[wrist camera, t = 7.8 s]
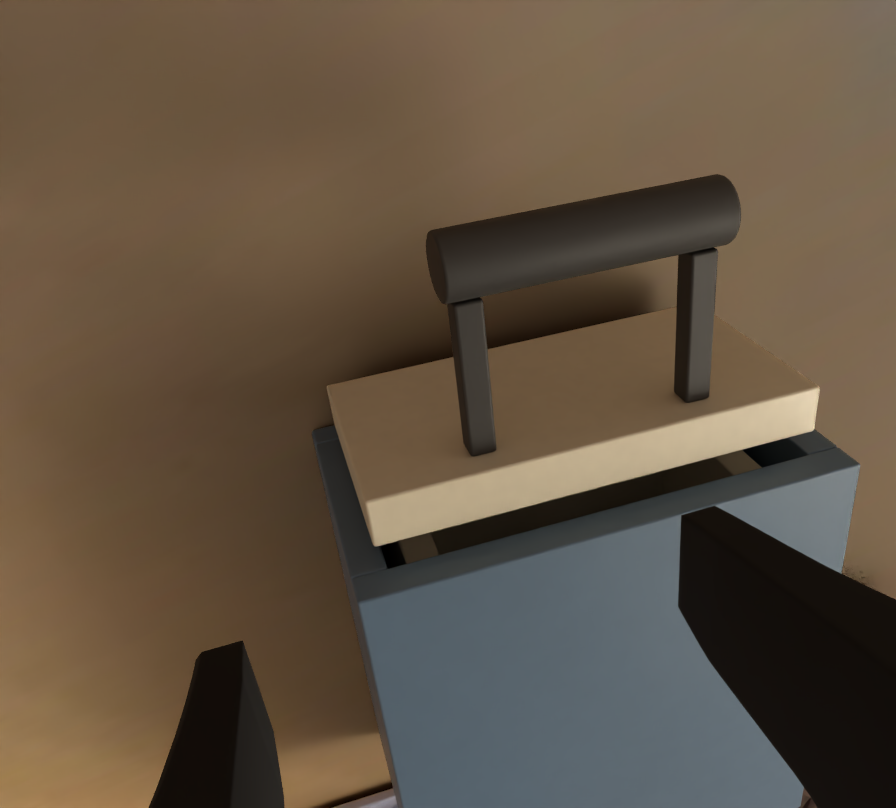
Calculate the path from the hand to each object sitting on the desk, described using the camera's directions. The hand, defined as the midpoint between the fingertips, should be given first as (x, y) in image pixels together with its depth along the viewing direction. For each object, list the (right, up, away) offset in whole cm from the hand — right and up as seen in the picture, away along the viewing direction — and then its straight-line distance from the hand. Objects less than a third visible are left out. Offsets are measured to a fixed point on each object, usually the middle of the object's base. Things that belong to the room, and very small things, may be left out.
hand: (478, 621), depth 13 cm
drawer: (+2, +2, +10) cm, 11 cm away
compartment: (+2, -1, +14) cm, 14 cm away
